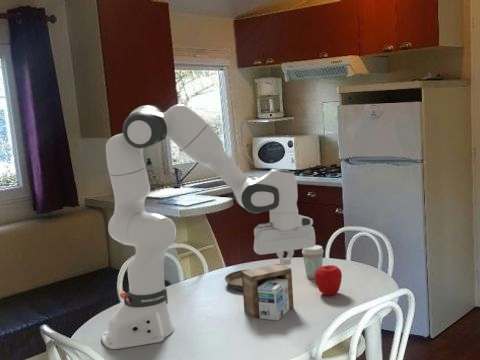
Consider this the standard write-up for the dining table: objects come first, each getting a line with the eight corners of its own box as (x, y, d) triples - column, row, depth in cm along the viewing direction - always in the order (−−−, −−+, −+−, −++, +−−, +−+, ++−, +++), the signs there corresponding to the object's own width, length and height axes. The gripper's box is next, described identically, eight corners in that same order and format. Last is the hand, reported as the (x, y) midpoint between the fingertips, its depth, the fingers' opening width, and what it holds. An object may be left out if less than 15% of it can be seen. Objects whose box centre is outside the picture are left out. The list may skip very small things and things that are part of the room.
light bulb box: (277, 321, 186) (275, 289, 184) (258, 319, 189) (256, 287, 187) (290, 309, 195) (288, 278, 194) (271, 307, 198) (269, 277, 197)
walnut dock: (253, 317, 190) (251, 276, 188) (244, 311, 197) (241, 271, 195) (293, 308, 196) (291, 268, 194) (283, 301, 203) (280, 263, 201)
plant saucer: (279, 275, 234) (278, 267, 233) (277, 292, 213) (276, 284, 213) (228, 277, 236) (228, 269, 236) (221, 294, 216) (221, 286, 215)
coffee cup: (299, 275, 231) (298, 246, 229) (319, 272, 233) (317, 243, 232) (308, 281, 223) (306, 251, 221) (328, 278, 225) (327, 248, 224)
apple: (330, 287, 214) (329, 259, 213) (348, 293, 206) (347, 264, 205) (310, 293, 209) (308, 264, 207) (327, 300, 201) (326, 270, 199)
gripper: (258, 226, 172) (260, 271, 173) (317, 218, 180) (318, 262, 181) (249, 223, 177) (251, 267, 179) (306, 216, 186) (308, 258, 187)
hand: (285, 264), depth 180 cm, fingers closed
